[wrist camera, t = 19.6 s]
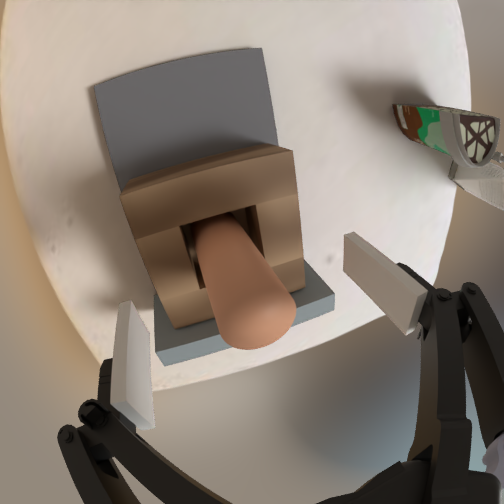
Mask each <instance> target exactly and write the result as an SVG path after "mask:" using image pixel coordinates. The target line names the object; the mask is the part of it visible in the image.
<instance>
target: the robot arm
mask: <svg viewBox="0 0 504 504" xmlns="http://www.w3.org/2000/svg"><path fill="white" fill-rule="evenodd" d="M343 271H344V272H345V273H346V274H347V275H348V276H349V277H350V278H351V279H352V280H353V281H354V282H355V283H356V284H357V285H358V286H359V287H360V288H361V289H362V290H363V291H364V292H365V293H366V294H367V295H368V296H369V297H370V298H371V299H372V300H373V301H374V302H375V304H376V305H377V306H378V307H379V308H380V309H381V310H382V311H383V312H384V313H385V314H386V315H387V316H388V317H389V318H390V319H391V320H392V321H393V322H394V324H395V325H396V326H397V327H398V328H399V329H400V330H401V331H402V332H403V333H404V334H405V335H407V334H409V333H411V332H412V331H414V330H415V329H416V327H417V324H418V322H420V324H421V325H422V326H421V329H420V332H419V334H418V338H417V339H419V338H420V336H421V374H420V393H419V405H418V414H417V424H416V430H415V437H414V441H413V444H412V446H411V448H410V451H409V454H408V458H407V462H403V463H401V462H400V461H399V462H397V463H395V464H394V465H392V466H390V467H389V468H387V469H386V470H384V471H382V472H381V473H379V474H377V475H376V476H375V477H373V478H372V479H370V480H369V481H367V482H366V483H365V484H364V485H363V486H361V487H360V488H359V489H357V490H356V491H355V492H354V493H350V494H345V495H341V496H337V497H332V498H329V499H326V500H324V501H321V502H319V503H317V504H502V489H503V488H504V332H503V330H502V328H501V326H500V324H499V322H498V320H497V318H496V316H495V314H494V312H493V310H492V308H491V307H490V305H489V303H488V301H487V299H486V298H485V296H484V294H483V293H482V291H481V289H480V288H479V287H478V286H477V285H476V284H474V283H471V282H466V283H464V284H463V285H462V288H461V290H460V291H457V292H453V293H451V292H450V291H448V290H447V289H443V288H439V289H435V288H434V287H433V286H432V285H430V284H429V283H428V282H427V281H426V280H424V279H423V278H422V277H421V276H419V275H418V274H417V273H416V272H414V271H413V270H412V269H411V268H410V267H408V266H407V265H404V264H402V263H397V264H395V263H394V262H393V261H391V260H390V259H389V258H388V257H386V256H385V255H384V254H383V253H381V252H380V251H379V250H377V249H376V248H375V247H374V246H372V245H371V244H370V243H368V242H367V241H366V240H364V239H363V238H362V237H360V236H359V235H358V234H356V233H355V232H352V233H348V234H345V235H344V264H343ZM470 319H471V320H470ZM471 321H472V322H471ZM464 367H465V369H464ZM465 370H466V373H467V377H468V380H469V383H470V387H471V390H472V394H473V398H474V402H475V406H476V410H477V415H478V419H479V425H480V430H481V434H482V438H483V441H484V444H485V447H486V449H487V451H486V454H485V455H484V456H483V463H484V464H485V465H487V468H486V471H485V472H479V471H471V470H468V468H469V461H470V451H471V438H472V423H471V420H469V419H467V418H466V389H465ZM99 377H100V378H99V385H98V398H97V399H98V400H95V399H90V400H87V401H85V402H84V403H83V404H82V405H81V406H80V408H79V411H78V417H79V419H80V421H81V422H82V423H84V424H85V425H83V426H81V427H78V428H75V427H74V426H72V425H65V426H63V427H62V428H61V429H60V430H59V432H58V437H57V438H58V443H59V446H60V449H61V451H62V454H63V457H64V460H65V462H66V465H67V467H68V469H69V472H70V474H71V477H72V479H73V481H74V484H75V486H76V488H77V490H78V492H79V494H80V496H81V498H82V500H83V502H84V504H141V503H140V502H139V501H138V499H137V498H136V496H135V495H134V494H133V492H132V490H131V489H130V487H129V486H128V484H127V483H126V481H125V479H124V478H123V476H122V474H121V473H120V471H119V469H118V468H117V466H116V464H115V462H114V461H113V459H112V457H115V458H116V459H117V460H118V461H119V462H120V463H121V464H122V465H123V466H124V467H125V468H126V469H127V470H128V471H129V472H130V473H131V474H132V475H133V476H134V477H135V478H136V479H137V480H138V481H139V482H140V483H141V484H143V485H144V486H145V487H146V488H147V489H148V490H149V491H150V492H151V493H153V494H154V495H155V496H156V497H157V498H159V499H160V500H161V501H162V502H163V503H165V504H232V503H230V502H229V501H227V500H225V499H224V498H222V497H220V496H219V495H217V494H215V493H213V492H212V491H210V490H209V489H207V488H206V487H204V486H203V485H201V484H200V483H198V482H197V481H196V480H194V479H193V478H191V477H190V476H188V475H187V474H186V473H184V472H183V471H182V470H180V469H179V468H178V467H176V466H175V465H174V464H172V463H171V462H170V461H169V460H167V459H166V458H165V457H164V456H162V455H161V454H160V453H159V452H157V451H156V450H155V449H154V448H153V447H152V446H150V445H149V444H148V443H147V442H146V441H145V440H144V439H143V438H141V437H140V436H139V435H138V434H137V433H136V427H138V428H139V429H140V430H147V429H153V428H155V419H154V409H153V398H152V383H151V364H150V333H149V331H148V329H147V327H146V326H145V324H144V322H143V320H142V319H141V317H140V315H139V313H138V311H137V310H136V308H135V306H134V304H133V302H132V300H128V301H125V302H122V303H119V310H118V317H117V324H116V332H115V341H114V351H113V358H111V359H106V360H104V361H103V363H102V365H101V368H100V374H99Z"/></svg>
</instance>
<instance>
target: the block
mask: <svg viewBox="0 0 504 504" xmlns="http://www.w3.org/2000/svg"><path fill="white" fill-rule="evenodd" d="M119 197H120V200H121V203H122V206H123V209H124V212H125V215H126V217H127V220H128V223H129V226H130V228H131V231H132V234H133V236H134V239H135V241H136V244H137V247H138V249H139V252H140V254H141V257H142V259H143V261H144V264H145V266H146V269H147V271H148V273H149V276H150V278H151V280H152V282H153V285H154V287H155V289H156V291H157V294H158V296H159V298H160V300H161V302H162V304H163V306H164V309H165V311H166V313H167V315H168V317H169V319H170V321H171V323H172V325H173V327H174V329H178V328H181V327H184V326H188V325H191V324H195V323H198V322H201V321H205V320H208V319H211V318H215V316H214V313H213V310H212V306H211V303H210V300H209V296H208V293H207V289H206V286H205V283H204V279H203V276H202V272H201V268H200V265H199V261H198V257H197V254H196V250H195V246H194V243H193V239H192V235H191V224H192V222H195V221H198V220H201V219H205V218H208V217H212V216H215V215H219V214H222V213H226V212H231V213H232V214H233V215H234V217H235V218H236V220H237V221H238V222H239V224H240V225H241V226H242V228H243V229H244V231H245V232H246V233H247V235H248V236H249V238H250V239H251V240H252V242H253V243H254V245H255V246H256V247H257V249H258V250H259V252H260V253H261V254H262V256H263V257H264V259H265V260H266V261H267V263H268V264H269V266H270V267H271V268H272V270H273V271H274V272H275V274H276V275H277V277H278V278H279V279H280V281H281V282H282V284H283V285H284V287H285V288H286V289H287V291H288V292H289V293H291V292H294V291H296V290H299V289H302V288H305V287H306V286H305V270H304V257H303V244H302V232H301V221H300V211H299V201H298V192H297V183H296V174H295V166H294V158H293V151H292V150H289V149H286V148H282V147H279V146H276V145H272V144H269V143H266V144H261V145H256V146H251V147H247V148H242V149H237V150H233V151H228V152H224V153H220V154H216V155H212V156H208V157H204V158H200V159H196V160H193V161H189V162H185V163H182V164H178V165H175V166H171V167H168V168H165V169H161V170H158V171H155V172H152V173H148V174H145V175H142V176H139V177H136V178H133V179H130V180H129V181H128V183H127V184H126V186H125V188H124V189H123V191H122V193H121V195H120V196H119Z"/></svg>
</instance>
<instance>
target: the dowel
mask: <svg viewBox="0 0 504 504" xmlns="http://www.w3.org/2000/svg"><path fill="white" fill-rule="evenodd" d="M191 235H192V239H193V243H194V246H195V250H196V254H197V257H198V261H199V265H200V268H201V272H202V276H203V279H204V283H205V286H206V289H207V293H208V296H209V300H210V303H211V306H212V310H213V313H214V316H215V320H216V323H217V326H218V329H219V332H220V335H221V337H222V339H223V340H224V341H225V342H226V343H227V344H229V345H230V346H232V347H235V348H238V349H245V350H250V349H257V348H261V347H264V346H267V345H269V344H271V343H273V342H275V341H277V340H278V339H279V338H281V337H282V336H283V335H284V334H285V333H286V332H287V331H288V330H289V328H290V327H291V325H292V324H293V322H294V319H295V316H296V304H295V301H294V299H293V298H292V296H291V295H290V294H289V292H288V291H287V289H286V288H285V287H284V285H283V284H282V282H281V281H280V279H279V278H278V277H277V275H276V274H275V272H274V271H273V270H272V268H271V267H270V266H269V264H268V263H267V261H266V260H265V259H264V257H263V256H262V254H261V253H260V252H259V250H258V249H257V247H256V246H255V245H254V243H253V242H252V240H251V239H250V238H249V236H248V235H247V233H246V232H245V231H244V229H243V228H242V226H241V225H240V224H239V222H238V221H237V220H236V218H235V217H234V215H233V214H232V213H231V212H226V213H222V214H219V215H215V216H212V217H208V218H205V219H201V220H198V221H195V222H192V224H191Z"/></svg>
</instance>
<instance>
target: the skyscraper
mask: <svg viewBox="0 0 504 504" xmlns="http://www.w3.org/2000/svg"><path fill="white" fill-rule="evenodd" d="M492 159H493V160H496V161H497V162H499V163H501V162H504V156H503V155H502V153H499V152H495V153H494V155H493V157H492ZM448 177H449V178H450V179H451V180H453V181H454V182H455V183H456V184H457V185H458V186H459V187H461V188H462V189H463V190H465V191H467V192H469V193H471V194H473V195H474V196H476V197H478V198H480V199H482V200H484V201H485V202H487V203H489V204H491V205H493V206H496V207H497V208H499V209H502V210H503V211H504V168H502V167H500V166H498V165H496V164H493V163H491V162H489V163H488V164H486V165H485V166H483V167H478V168H469V167H462V166H460V165H458V164H457V163H456V162H455V161H454V160H453V162H452V165H451V169H450V172H449V175H448Z"/></svg>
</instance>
